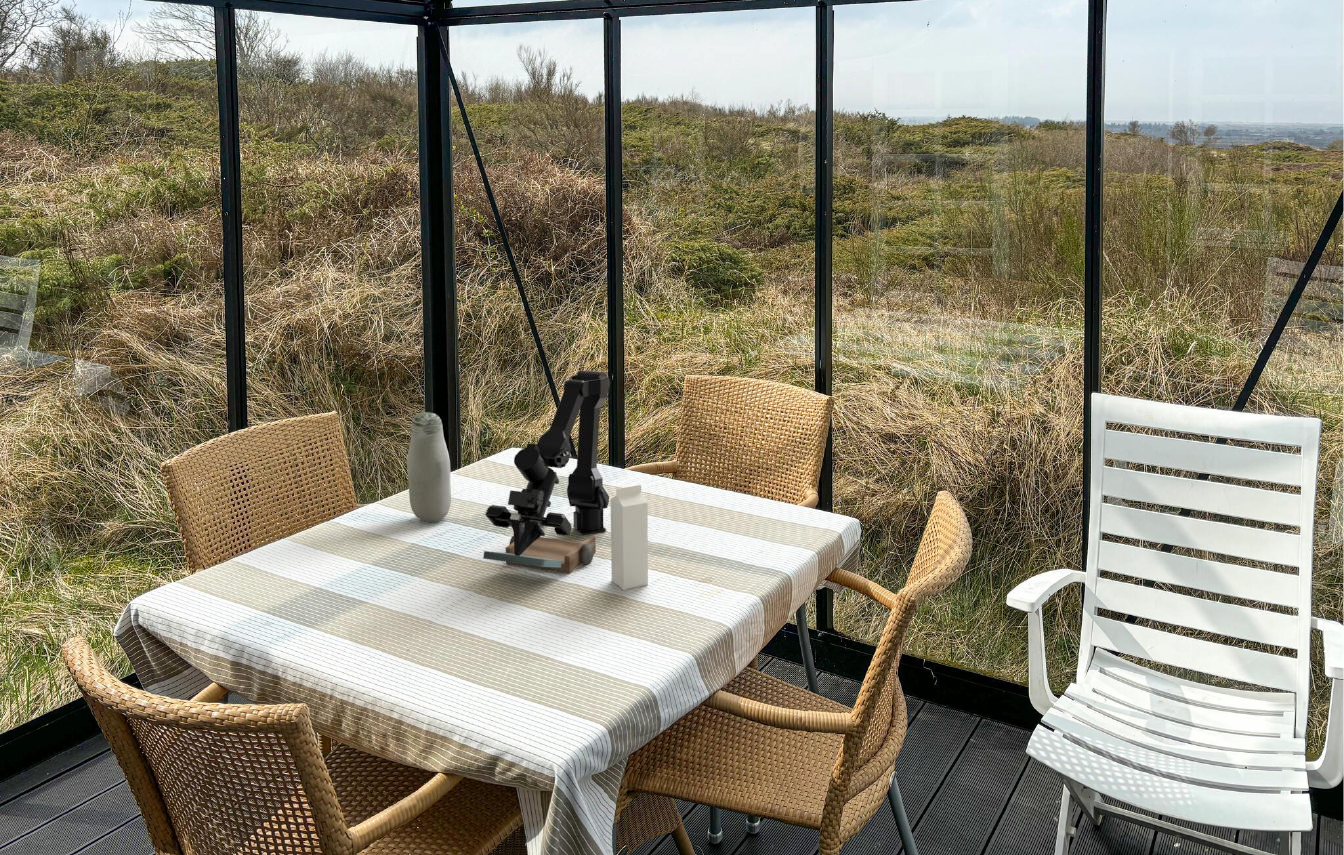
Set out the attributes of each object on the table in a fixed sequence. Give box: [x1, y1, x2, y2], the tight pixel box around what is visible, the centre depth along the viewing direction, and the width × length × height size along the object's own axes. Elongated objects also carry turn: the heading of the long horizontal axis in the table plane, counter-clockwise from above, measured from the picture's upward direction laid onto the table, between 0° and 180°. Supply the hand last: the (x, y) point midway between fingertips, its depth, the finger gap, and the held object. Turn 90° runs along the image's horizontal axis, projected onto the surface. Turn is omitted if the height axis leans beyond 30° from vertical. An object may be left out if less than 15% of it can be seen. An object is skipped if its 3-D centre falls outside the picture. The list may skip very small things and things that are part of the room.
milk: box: [610, 484, 649, 591], centre depth 249 cm, size 6×6×22 cm
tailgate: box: [483, 550, 562, 568], centre depth 252 cm, size 2×14×10 cm
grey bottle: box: [406, 411, 452, 523], centre depth 288 cm, size 10×10×28 cm
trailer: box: [505, 534, 597, 575], centre depth 265 cm, size 14×19×4 cm
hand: (516, 555), depth 249 cm, fingers closed, pressing on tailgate
